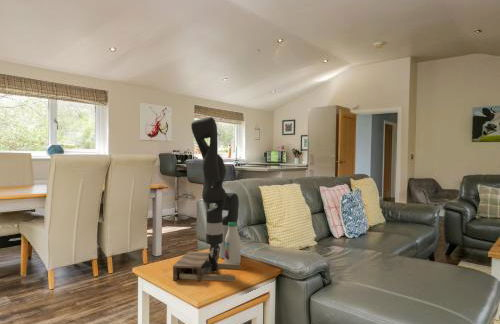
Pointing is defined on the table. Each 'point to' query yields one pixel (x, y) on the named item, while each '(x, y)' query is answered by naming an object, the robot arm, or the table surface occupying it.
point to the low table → (200, 267)
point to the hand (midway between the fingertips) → (214, 270)
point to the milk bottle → (232, 245)
